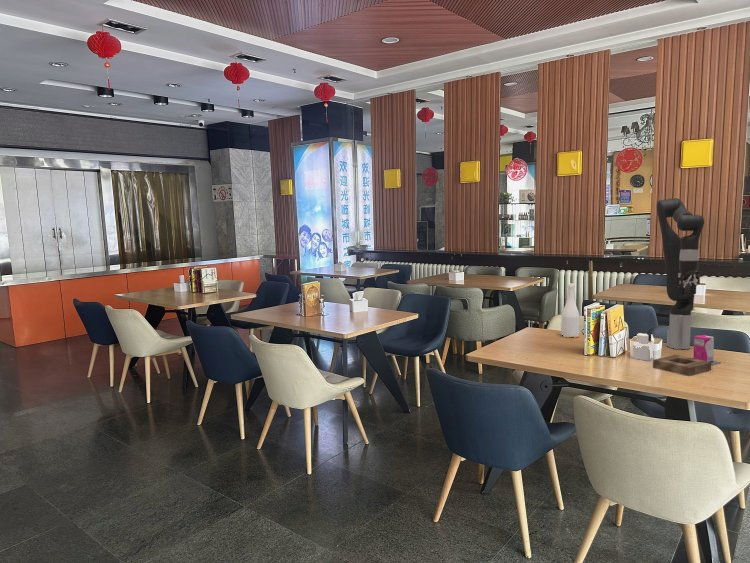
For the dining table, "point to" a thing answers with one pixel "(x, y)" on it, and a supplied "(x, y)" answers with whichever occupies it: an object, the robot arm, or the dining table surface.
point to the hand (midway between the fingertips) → (687, 294)
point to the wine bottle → (570, 315)
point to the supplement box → (703, 348)
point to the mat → (715, 362)
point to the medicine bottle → (644, 351)
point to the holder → (682, 365)
